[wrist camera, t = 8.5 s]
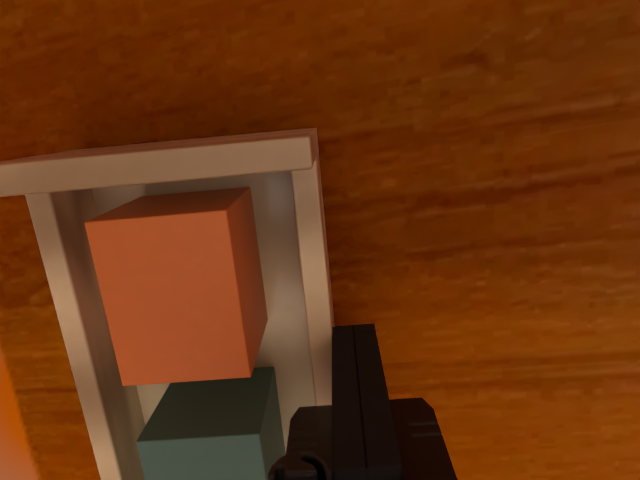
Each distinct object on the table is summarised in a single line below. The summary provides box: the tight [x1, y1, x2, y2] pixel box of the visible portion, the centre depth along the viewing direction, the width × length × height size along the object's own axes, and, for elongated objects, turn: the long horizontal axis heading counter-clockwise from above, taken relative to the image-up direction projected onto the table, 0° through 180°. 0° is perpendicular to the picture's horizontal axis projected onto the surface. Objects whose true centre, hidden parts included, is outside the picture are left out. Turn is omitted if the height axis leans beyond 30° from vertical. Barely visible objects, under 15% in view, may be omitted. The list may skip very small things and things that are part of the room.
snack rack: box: [0, 127, 335, 480], centre depth 16 cm, size 16×9×6 cm, turn 5°
